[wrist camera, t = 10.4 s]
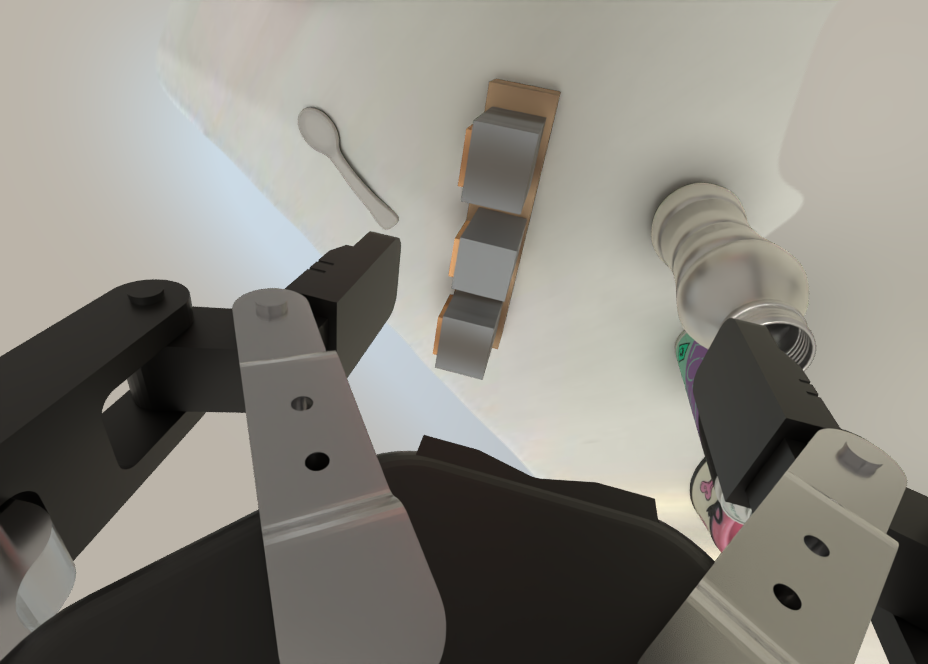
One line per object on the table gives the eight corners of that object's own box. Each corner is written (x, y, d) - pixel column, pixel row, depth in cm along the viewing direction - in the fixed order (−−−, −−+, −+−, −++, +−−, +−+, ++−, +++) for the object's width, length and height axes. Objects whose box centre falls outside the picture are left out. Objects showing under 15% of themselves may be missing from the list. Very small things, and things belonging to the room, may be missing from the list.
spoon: (318, 97, 40) (308, 101, 38) (408, 212, 45) (402, 221, 43) (296, 118, 41) (285, 123, 40) (385, 228, 46) (378, 237, 44)
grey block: (527, 218, 38) (517, 251, 33) (515, 263, 41) (504, 301, 35) (473, 205, 39) (453, 235, 33) (464, 250, 41) (444, 286, 35)
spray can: (698, 310, 42) (771, 488, 26) (754, 335, 43) (863, 528, 26) (662, 356, 46) (707, 540, 29) (714, 379, 46) (789, 576, 29)
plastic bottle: (635, 246, 41) (670, 391, 24) (667, 166, 37) (735, 272, 20) (711, 265, 40) (801, 427, 24) (752, 185, 36) (892, 311, 20)
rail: (495, 78, 36) (469, 91, 28) (560, 91, 36) (553, 108, 28) (454, 320, 48) (427, 380, 40) (502, 332, 48) (485, 395, 40)
